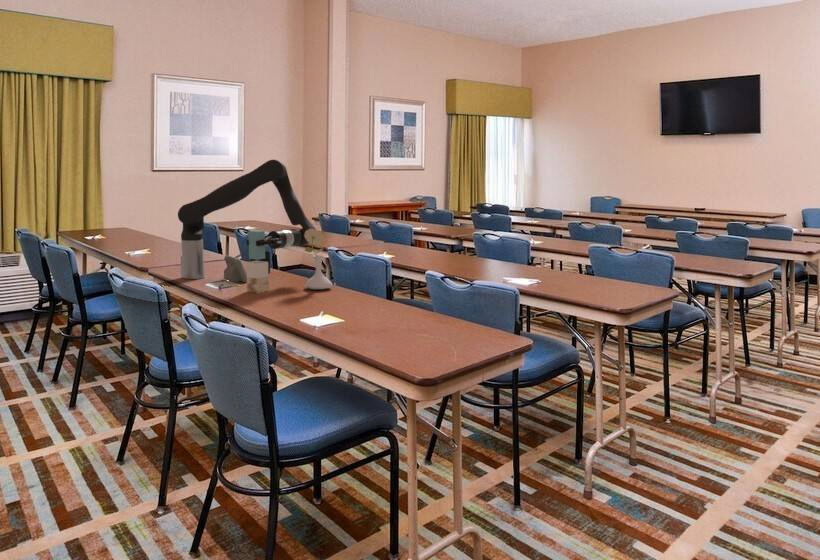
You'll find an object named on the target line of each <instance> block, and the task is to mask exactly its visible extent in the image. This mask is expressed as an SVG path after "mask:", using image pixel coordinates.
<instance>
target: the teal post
mask: <svg viewBox="0 0 820 560" xmlns="http://www.w3.org/2000/svg"><path fill="white" fill-rule="evenodd" d="M247 234H248V235H247V236H248V237H247V238H248V239H247V240H249V245H248V259H249V260H250V259H256V260H259V259H265V251H266V246H264V245H263V246H256V241H258V240H264V239H265V236H266V235H265V234H266V233H265V230H248V232H247Z"/></svg>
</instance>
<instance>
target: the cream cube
mask: <svg viewBox="0 0 820 560" xmlns="http://www.w3.org/2000/svg"><path fill="white" fill-rule="evenodd" d="M246 274H247V277H250V278H263V277H268V278H269V274H268V262H265V261H252V262H251V261H246Z"/></svg>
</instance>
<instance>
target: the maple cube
mask: <svg viewBox="0 0 820 560" xmlns="http://www.w3.org/2000/svg"><path fill="white" fill-rule="evenodd" d="M269 278H270V277H269V276H268V277H263V278H250V277H247V282H246V289H247V290H246V291H250V292H249V293H252V292H256V293H255V294H262V293H265V291H267V292H269V291H270V290H269V289H270V287H269V284H270V282H269V281H270V280H269ZM261 292H262V293H261Z"/></svg>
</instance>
